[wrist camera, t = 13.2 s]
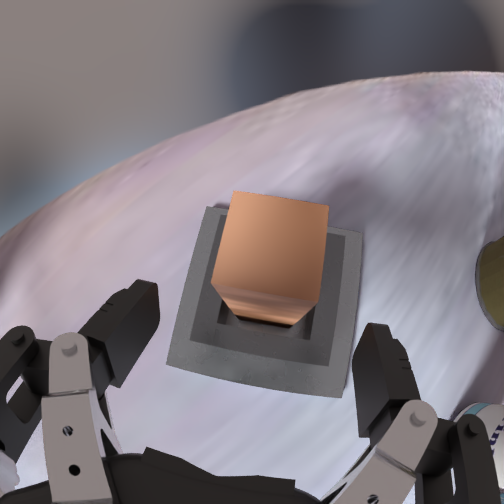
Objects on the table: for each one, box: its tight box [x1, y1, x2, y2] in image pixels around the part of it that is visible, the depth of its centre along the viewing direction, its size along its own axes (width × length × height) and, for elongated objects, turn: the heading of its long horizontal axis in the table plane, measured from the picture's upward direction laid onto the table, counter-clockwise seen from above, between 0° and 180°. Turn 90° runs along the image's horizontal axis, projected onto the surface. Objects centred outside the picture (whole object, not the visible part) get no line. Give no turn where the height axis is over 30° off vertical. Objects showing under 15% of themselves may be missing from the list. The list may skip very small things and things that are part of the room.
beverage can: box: [453, 403, 504, 489], centre depth 12 cm, size 7×7×12 cm
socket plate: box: [166, 206, 363, 398], centre depth 21 cm, size 14×14×5 cm
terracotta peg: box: [211, 191, 329, 329], centre depth 17 cm, size 4×4×12 cm
